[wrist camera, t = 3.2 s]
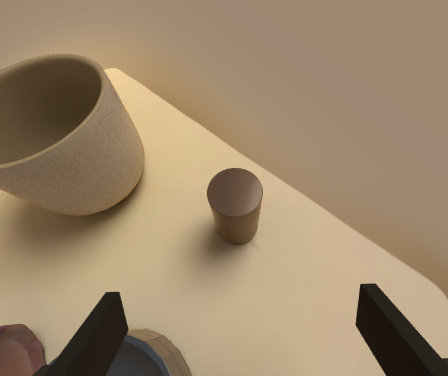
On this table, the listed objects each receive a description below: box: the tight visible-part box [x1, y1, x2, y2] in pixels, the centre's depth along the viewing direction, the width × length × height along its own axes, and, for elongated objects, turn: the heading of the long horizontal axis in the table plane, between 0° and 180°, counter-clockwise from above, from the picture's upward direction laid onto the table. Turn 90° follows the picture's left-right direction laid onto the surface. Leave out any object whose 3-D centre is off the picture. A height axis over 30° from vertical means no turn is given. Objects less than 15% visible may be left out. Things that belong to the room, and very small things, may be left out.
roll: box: [207, 168, 263, 245], centre depth 27 cm, size 6×6×10 cm
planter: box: [0, 54, 145, 215], centre depth 30 cm, size 17×17×15 cm
